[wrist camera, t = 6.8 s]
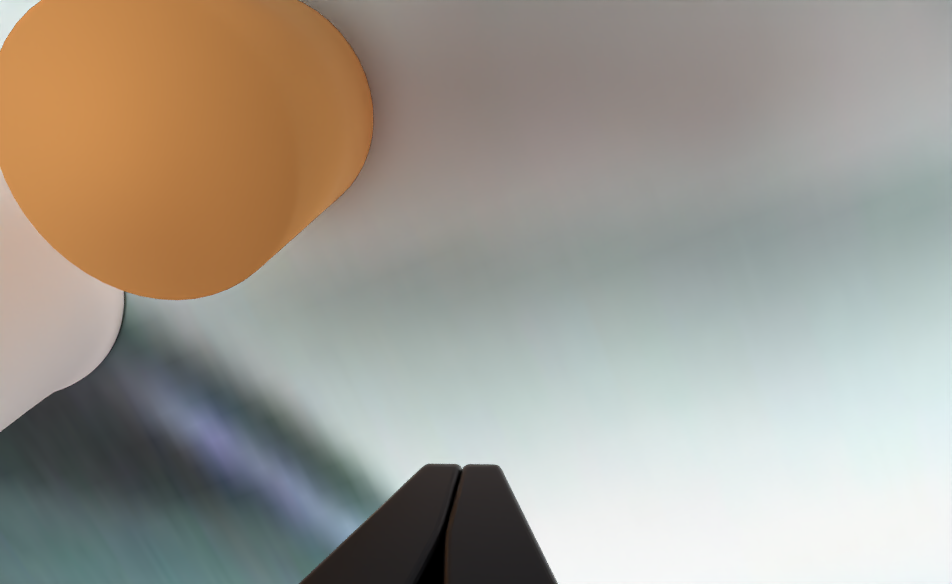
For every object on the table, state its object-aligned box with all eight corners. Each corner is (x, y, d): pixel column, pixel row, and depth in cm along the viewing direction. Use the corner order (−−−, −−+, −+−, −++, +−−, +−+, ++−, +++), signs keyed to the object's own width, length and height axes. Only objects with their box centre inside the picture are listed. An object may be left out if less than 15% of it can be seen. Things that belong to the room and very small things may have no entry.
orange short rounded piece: (359, -19, 17) (269, -33, 12) (384, 216, 19) (319, 297, 14) (132, -4, 18) (-56, -11, 12) (181, 221, 20) (41, 302, 14)
